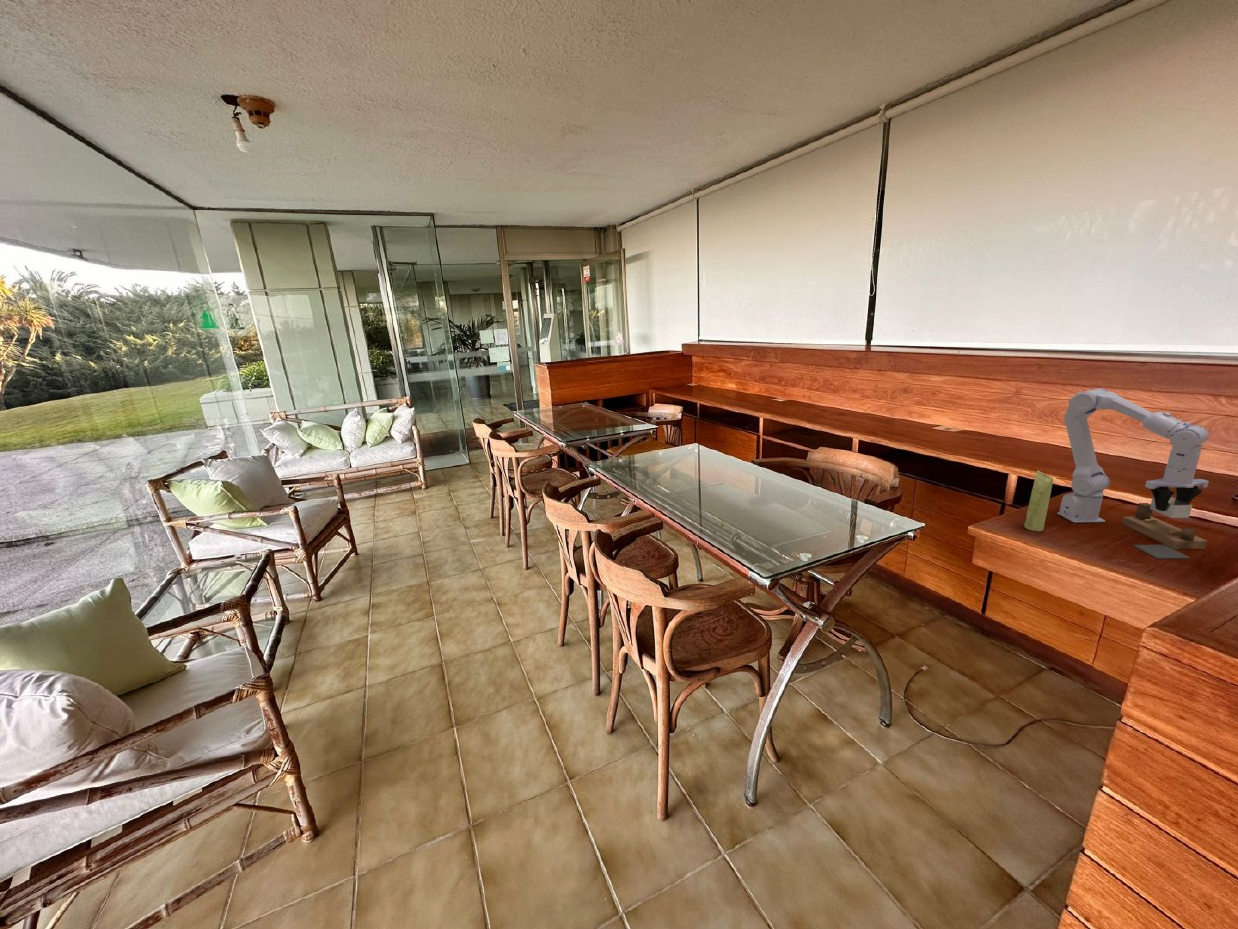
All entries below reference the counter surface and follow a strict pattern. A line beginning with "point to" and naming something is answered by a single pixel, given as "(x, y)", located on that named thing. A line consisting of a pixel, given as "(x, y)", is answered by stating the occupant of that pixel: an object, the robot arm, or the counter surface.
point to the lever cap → (1174, 508)
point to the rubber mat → (1161, 552)
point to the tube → (1039, 502)
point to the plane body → (1163, 530)
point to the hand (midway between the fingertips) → (1169, 509)
